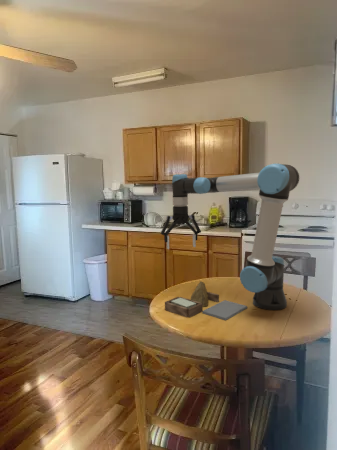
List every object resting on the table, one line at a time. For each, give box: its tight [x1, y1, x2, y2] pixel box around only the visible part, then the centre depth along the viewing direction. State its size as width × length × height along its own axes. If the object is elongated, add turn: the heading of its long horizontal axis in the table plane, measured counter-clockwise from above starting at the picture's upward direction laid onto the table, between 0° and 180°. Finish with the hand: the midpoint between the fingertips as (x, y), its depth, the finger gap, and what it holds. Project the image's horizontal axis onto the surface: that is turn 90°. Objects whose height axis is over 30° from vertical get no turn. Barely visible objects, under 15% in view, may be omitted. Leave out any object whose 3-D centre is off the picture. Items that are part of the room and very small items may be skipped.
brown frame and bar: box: [164, 291, 220, 318], centre depth 157 cm, size 14×25×4 cm, turn 138°
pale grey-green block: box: [171, 298, 196, 309], centre depth 152 cm, size 10×6×4 cm, turn 43°
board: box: [201, 299, 248, 321], centre depth 151 cm, size 12×18×1 cm, turn 138°
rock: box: [189, 281, 209, 307], centre depth 160 cm, size 11×9×10 cm
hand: (181, 247), depth 171 cm, fingers open, 13 cm apart
